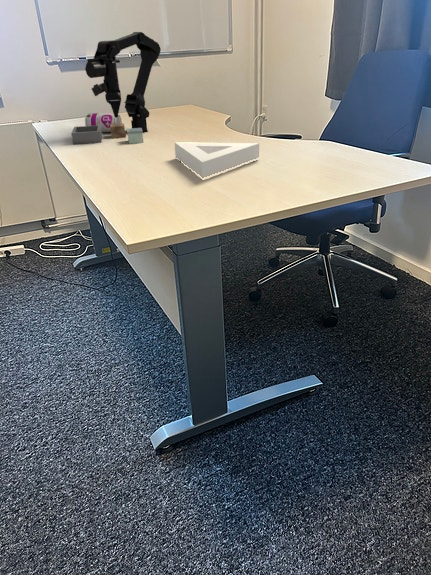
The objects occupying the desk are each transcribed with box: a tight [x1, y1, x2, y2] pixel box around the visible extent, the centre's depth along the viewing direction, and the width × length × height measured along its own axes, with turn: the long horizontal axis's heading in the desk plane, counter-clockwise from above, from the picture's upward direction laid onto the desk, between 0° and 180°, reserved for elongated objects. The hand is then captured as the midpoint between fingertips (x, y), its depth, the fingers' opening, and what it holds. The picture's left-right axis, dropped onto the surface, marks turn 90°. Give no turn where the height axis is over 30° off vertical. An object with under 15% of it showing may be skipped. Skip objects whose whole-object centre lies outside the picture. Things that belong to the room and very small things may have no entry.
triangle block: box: [174, 141, 260, 178], centre depth 146 cm, size 30×26×6 cm
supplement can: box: [84, 112, 123, 133], centre depth 199 cm, size 8×8×15 cm
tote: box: [71, 125, 103, 145], centre depth 185 cm, size 11×15×4 cm
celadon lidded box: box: [126, 127, 144, 145], centre depth 180 cm, size 6×6×5 cm
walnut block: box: [110, 123, 127, 139], centre depth 190 cm, size 6×6×5 cm
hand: (116, 115), depth 187 cm, fingers open, 9 cm apart
